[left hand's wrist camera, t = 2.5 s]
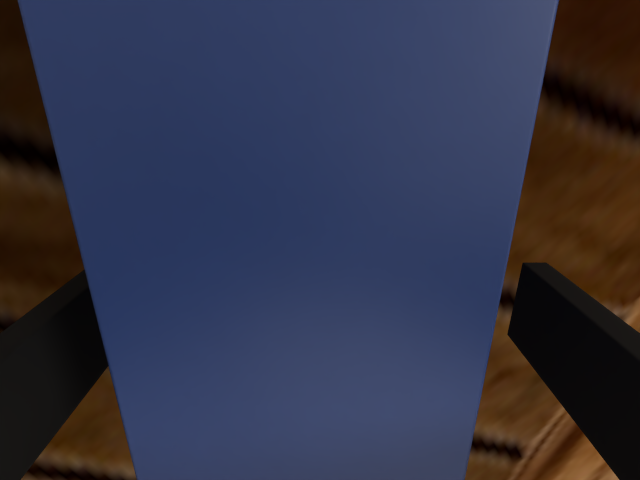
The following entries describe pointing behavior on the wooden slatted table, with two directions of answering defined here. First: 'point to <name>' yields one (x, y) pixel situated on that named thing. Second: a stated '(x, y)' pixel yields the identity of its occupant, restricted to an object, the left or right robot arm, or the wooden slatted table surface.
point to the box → (293, 220)
